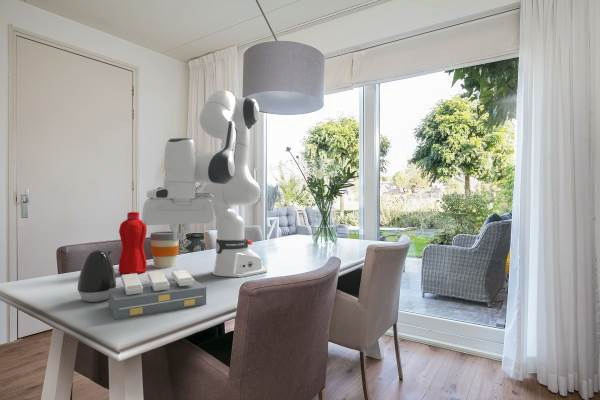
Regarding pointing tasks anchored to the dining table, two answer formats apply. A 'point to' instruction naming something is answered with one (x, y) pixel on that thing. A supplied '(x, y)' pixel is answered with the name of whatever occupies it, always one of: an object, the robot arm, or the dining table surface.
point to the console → (155, 299)
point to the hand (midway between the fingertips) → (179, 239)
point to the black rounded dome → (96, 277)
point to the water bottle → (132, 245)
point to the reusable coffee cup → (164, 249)
